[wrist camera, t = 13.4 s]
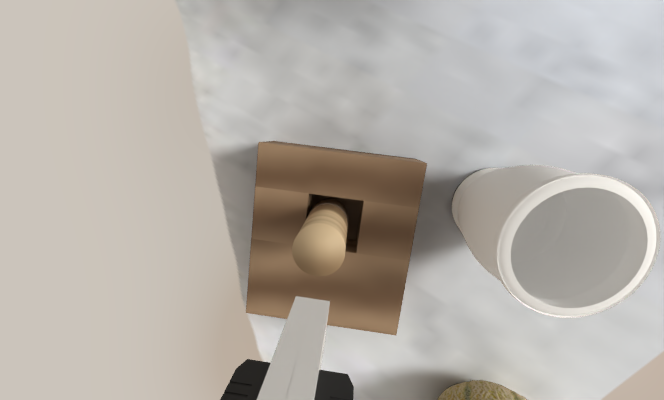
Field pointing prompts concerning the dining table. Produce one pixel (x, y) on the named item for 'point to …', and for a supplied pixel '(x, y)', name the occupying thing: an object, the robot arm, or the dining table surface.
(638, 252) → the jar
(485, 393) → the cantaloupe
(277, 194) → the wooden block with hole
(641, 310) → the dining table surface
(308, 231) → the peg
